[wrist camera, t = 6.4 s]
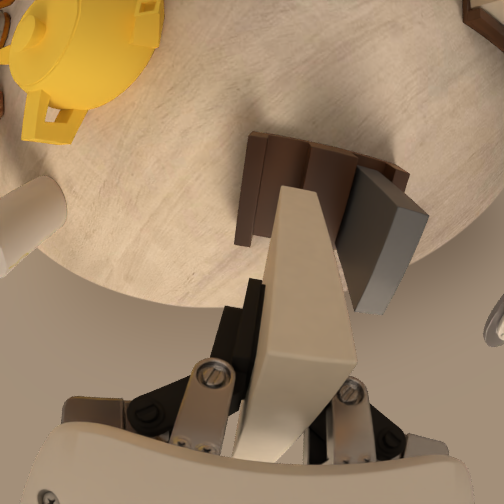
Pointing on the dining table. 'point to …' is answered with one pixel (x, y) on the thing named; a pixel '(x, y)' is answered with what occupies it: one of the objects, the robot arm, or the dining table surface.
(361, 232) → the grey book
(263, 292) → the robot arm
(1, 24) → the mug
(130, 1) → the teapot
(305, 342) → the white book
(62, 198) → the cup
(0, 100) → the cupcake
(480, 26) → the rack
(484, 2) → the white book
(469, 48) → the dining table surface
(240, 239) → the rack
